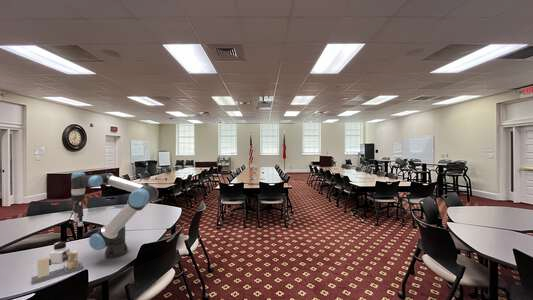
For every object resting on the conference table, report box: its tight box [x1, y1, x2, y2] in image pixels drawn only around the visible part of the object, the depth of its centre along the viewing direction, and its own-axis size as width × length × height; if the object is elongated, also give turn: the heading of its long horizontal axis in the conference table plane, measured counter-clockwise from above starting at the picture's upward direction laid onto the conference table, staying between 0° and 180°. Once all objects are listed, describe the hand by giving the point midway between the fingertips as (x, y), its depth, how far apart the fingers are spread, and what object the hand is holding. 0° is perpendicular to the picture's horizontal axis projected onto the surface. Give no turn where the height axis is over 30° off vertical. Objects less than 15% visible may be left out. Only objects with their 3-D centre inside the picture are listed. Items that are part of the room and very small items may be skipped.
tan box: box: [65, 249, 79, 270], centre depth 152 cm, size 6×4×10 cm, turn 137°
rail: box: [31, 257, 84, 285], centre depth 148 cm, size 24×6×12 cm, turn 138°
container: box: [49, 241, 71, 264], centre depth 165 cm, size 8×8×13 cm
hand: (78, 223), depth 165 cm, fingers open, 13 cm apart
